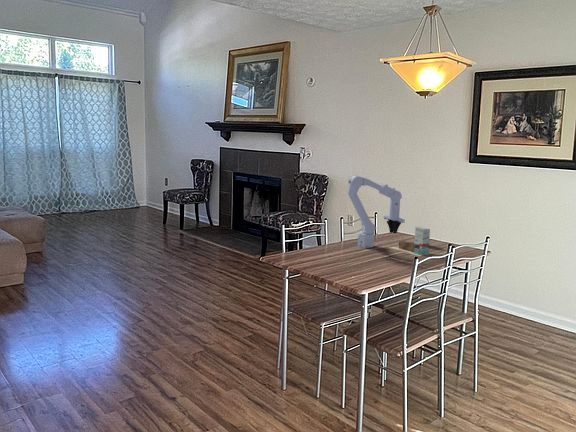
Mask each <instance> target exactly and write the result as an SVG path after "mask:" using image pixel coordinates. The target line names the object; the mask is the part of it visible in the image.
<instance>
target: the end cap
mask: <svg viewBox="0 0 576 432" xmlns="http://www.w3.org/2000/svg"><path fill="white" fill-rule="evenodd" d="M429 252H430V248H429V247H421V248H420V249H417V248H414V254H418V255H422V256H425V255H424V254H427V255H430V254H429Z"/></svg>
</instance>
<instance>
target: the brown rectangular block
mask: <svg viewBox="0 0 576 432" xmlns="http://www.w3.org/2000/svg"><path fill="white" fill-rule="evenodd" d="M414 243H415V242H409V241H406V240H401V241H399V242H398V246H399V249H403V250H407V251H410V252H414V248H417V249H421V246H420V245H418V244H414Z"/></svg>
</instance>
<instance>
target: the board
mask: <svg viewBox="0 0 576 432" xmlns="http://www.w3.org/2000/svg"><path fill="white" fill-rule="evenodd" d="M388 249H390V250H394V251H398V252H402V253H405V254H410V255H413V256H416V257H421V256H426V255H430V254H431V255H432V254H433V252H430V251H429V254H424V255H418V254H414V252H410V251H407V250H403V249H399V245H396V246H391V247H390V246H389V247H388Z"/></svg>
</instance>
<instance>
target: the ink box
mask: <svg viewBox="0 0 576 432" xmlns="http://www.w3.org/2000/svg"><path fill="white" fill-rule="evenodd" d="M430 234H431V228H427V227H424V226H415V228H414V242H413V243H414V244H418V245H420V248H422V247H427V248H429V246H430V237H431V236H430Z"/></svg>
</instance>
